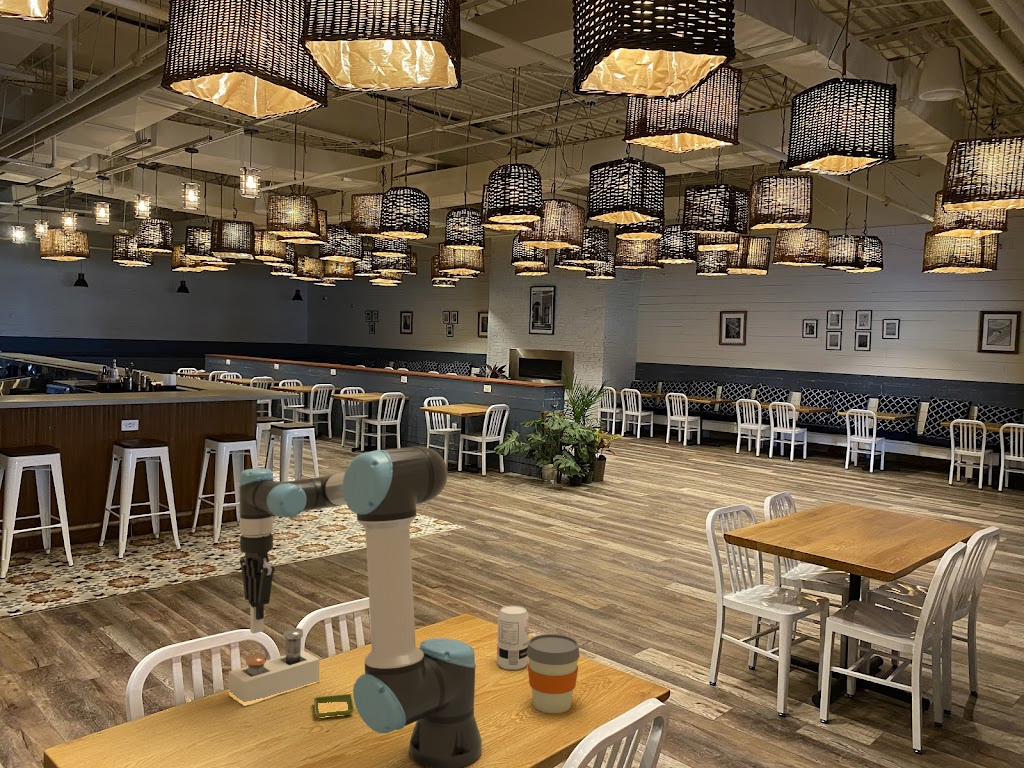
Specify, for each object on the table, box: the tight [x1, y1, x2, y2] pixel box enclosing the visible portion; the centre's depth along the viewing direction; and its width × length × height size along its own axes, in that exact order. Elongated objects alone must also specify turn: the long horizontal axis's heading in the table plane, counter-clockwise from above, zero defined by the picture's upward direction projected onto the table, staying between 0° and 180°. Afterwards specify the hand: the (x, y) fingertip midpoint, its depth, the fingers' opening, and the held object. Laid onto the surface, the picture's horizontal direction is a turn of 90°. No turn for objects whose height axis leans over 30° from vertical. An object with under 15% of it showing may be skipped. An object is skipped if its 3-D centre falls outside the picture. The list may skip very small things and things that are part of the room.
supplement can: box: [496, 605, 530, 671], centre depth 213 cm, size 8×8×15 cm
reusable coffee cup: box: [527, 633, 580, 714], centre depth 190 cm, size 13×13×15 cm
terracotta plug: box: [245, 653, 267, 677], centre depth 192 cm, size 5×5×8 cm
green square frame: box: [313, 693, 355, 718], centre depth 185 cm, size 9×9×2 cm
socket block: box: [227, 649, 320, 702], centre depth 196 cm, size 20×8×6 cm, turn 135°
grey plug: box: [283, 627, 304, 665], centre depth 199 cm, size 5×5×8 cm
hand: (257, 631), depth 191 cm, fingers closed
